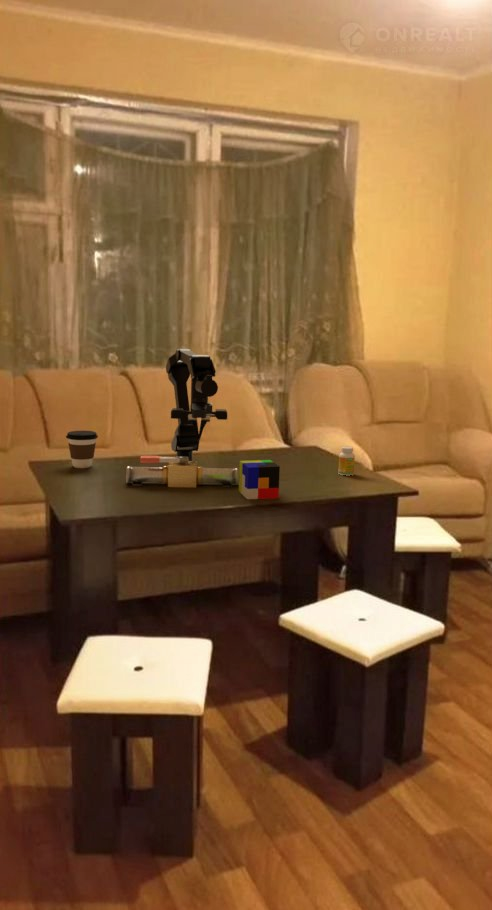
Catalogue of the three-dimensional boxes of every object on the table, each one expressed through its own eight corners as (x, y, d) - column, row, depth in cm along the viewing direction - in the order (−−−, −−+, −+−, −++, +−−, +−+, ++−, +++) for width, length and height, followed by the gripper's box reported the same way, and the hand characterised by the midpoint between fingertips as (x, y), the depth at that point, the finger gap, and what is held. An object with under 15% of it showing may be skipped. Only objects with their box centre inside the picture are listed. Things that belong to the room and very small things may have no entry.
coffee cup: (91, 470, 275) (91, 436, 272) (61, 468, 276) (61, 434, 274) (102, 464, 285) (102, 431, 283) (73, 462, 287) (72, 429, 285)
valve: (127, 480, 261) (127, 458, 260) (237, 482, 263) (237, 460, 262) (125, 486, 253) (125, 464, 252) (238, 488, 255) (238, 466, 254)
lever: (188, 461, 259) (188, 456, 258) (188, 463, 255) (188, 458, 255) (141, 460, 258) (141, 455, 257) (140, 462, 254) (140, 457, 254)
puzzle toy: (247, 499, 242) (248, 467, 240) (238, 491, 251) (239, 460, 249) (278, 498, 245) (279, 466, 243) (269, 490, 254) (270, 459, 252)
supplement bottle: (346, 476, 276) (347, 449, 274) (335, 473, 280) (336, 446, 279) (356, 475, 280) (358, 447, 278) (345, 472, 284) (347, 445, 282)
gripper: (170, 395, 255) (169, 443, 258) (228, 396, 256) (227, 444, 259) (171, 391, 266) (171, 437, 269) (227, 392, 267) (226, 438, 270)
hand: (198, 439), depth 267 cm, fingers closed
